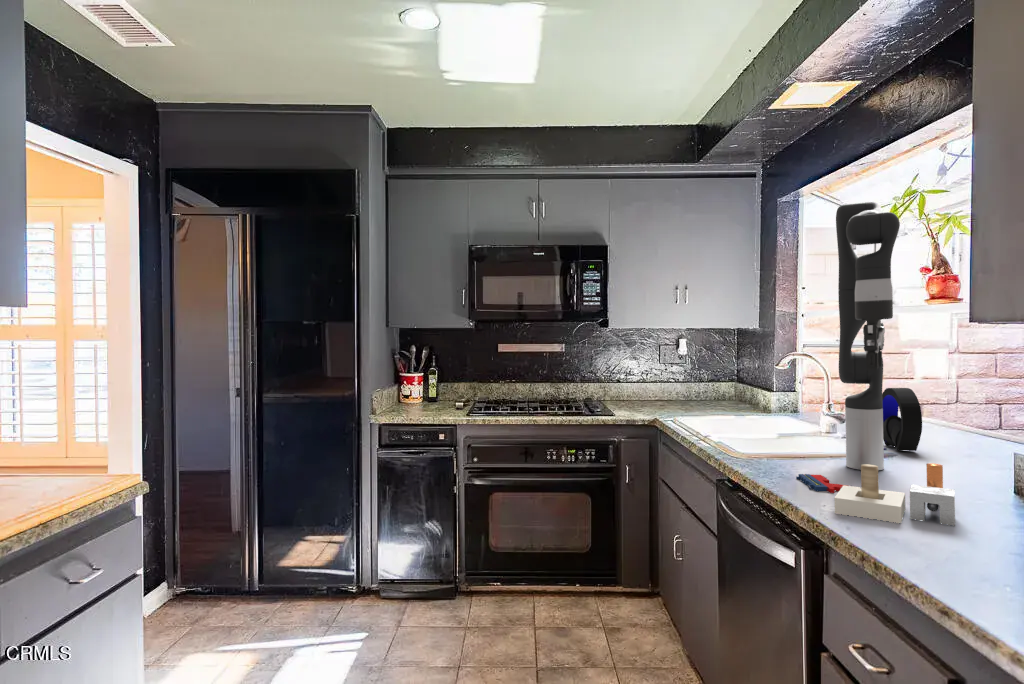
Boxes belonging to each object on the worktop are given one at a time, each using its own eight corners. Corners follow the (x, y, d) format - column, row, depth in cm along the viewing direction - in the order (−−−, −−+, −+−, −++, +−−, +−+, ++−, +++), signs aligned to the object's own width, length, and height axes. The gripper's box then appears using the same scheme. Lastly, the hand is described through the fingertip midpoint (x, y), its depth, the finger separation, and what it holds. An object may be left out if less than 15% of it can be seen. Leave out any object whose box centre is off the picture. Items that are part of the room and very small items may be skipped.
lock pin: (943, 498, 132) (942, 464, 132) (941, 516, 120) (941, 478, 120) (927, 496, 134) (926, 462, 134) (924, 514, 122) (923, 477, 122)
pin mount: (954, 518, 120) (954, 489, 120) (954, 526, 115) (954, 496, 115) (911, 512, 124) (911, 484, 124) (910, 519, 120) (909, 491, 120)
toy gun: (834, 480, 154) (794, 479, 155) (834, 474, 154) (794, 473, 155) (858, 495, 139) (814, 494, 141) (858, 489, 139) (814, 487, 141)
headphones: (925, 455, 177) (924, 391, 176) (901, 455, 178) (900, 391, 178) (898, 443, 195) (898, 385, 194) (877, 443, 196) (876, 385, 196)
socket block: (843, 500, 134) (843, 485, 134) (905, 508, 127) (905, 492, 127) (834, 513, 125) (834, 497, 125) (901, 523, 117) (900, 506, 117)
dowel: (862, 508, 128) (862, 463, 128) (879, 510, 126) (878, 465, 126) (860, 511, 125) (860, 466, 125) (878, 514, 123) (877, 468, 123)
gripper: (889, 298, 126) (890, 371, 127) (895, 298, 138) (896, 365, 138) (850, 300, 131) (851, 370, 132) (859, 300, 142) (860, 365, 143)
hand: (874, 367), depth 135 cm, fingers open, 8 cm apart
